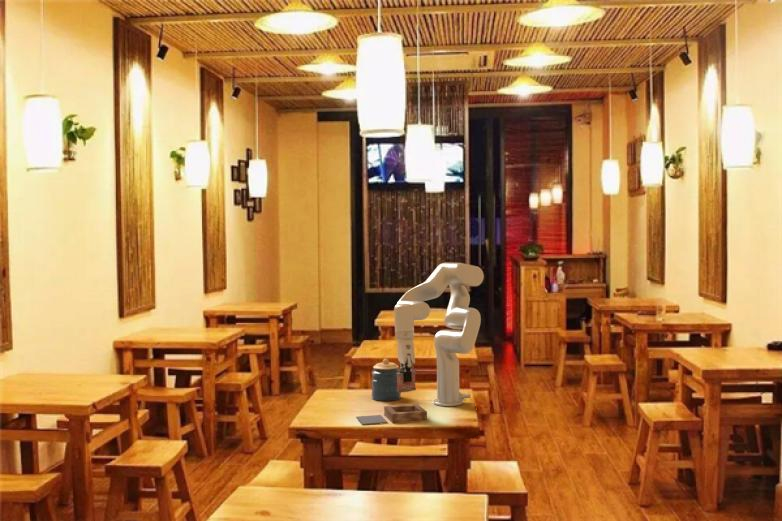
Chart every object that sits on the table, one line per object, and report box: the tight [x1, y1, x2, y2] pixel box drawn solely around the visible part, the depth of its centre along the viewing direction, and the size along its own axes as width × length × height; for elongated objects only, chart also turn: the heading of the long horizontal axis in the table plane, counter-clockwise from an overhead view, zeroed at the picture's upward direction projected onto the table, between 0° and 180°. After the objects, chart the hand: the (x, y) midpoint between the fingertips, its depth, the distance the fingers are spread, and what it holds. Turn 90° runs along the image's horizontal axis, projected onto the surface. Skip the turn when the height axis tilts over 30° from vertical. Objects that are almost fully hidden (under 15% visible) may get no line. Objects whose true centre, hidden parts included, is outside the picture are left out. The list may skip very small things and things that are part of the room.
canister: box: [371, 358, 402, 402], centre depth 368 cm, size 13×13×18 cm
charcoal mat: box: [355, 414, 388, 426], centre depth 328 cm, size 10×12×1 cm
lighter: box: [397, 364, 417, 393], centre depth 332 cm, size 8×3×10 cm, turn 117°
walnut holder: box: [383, 403, 428, 424], centre depth 332 cm, size 14×14×4 cm
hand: (406, 379), depth 332 cm, fingers closed on lighter, 3 cm apart
